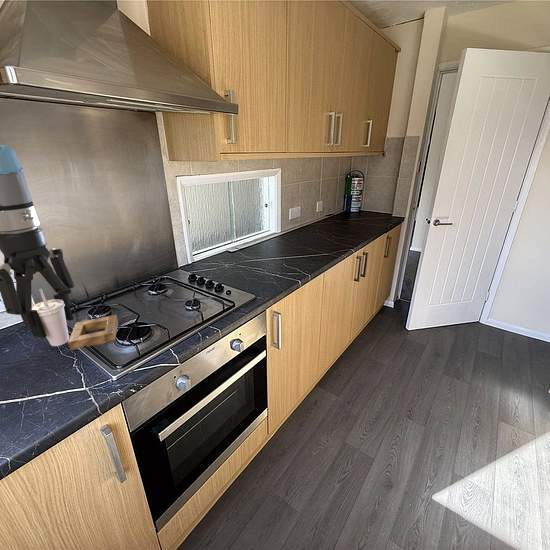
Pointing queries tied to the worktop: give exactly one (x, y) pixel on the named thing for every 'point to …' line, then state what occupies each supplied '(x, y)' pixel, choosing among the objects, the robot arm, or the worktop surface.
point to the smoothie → (53, 319)
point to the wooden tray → (92, 339)
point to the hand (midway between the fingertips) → (54, 327)
